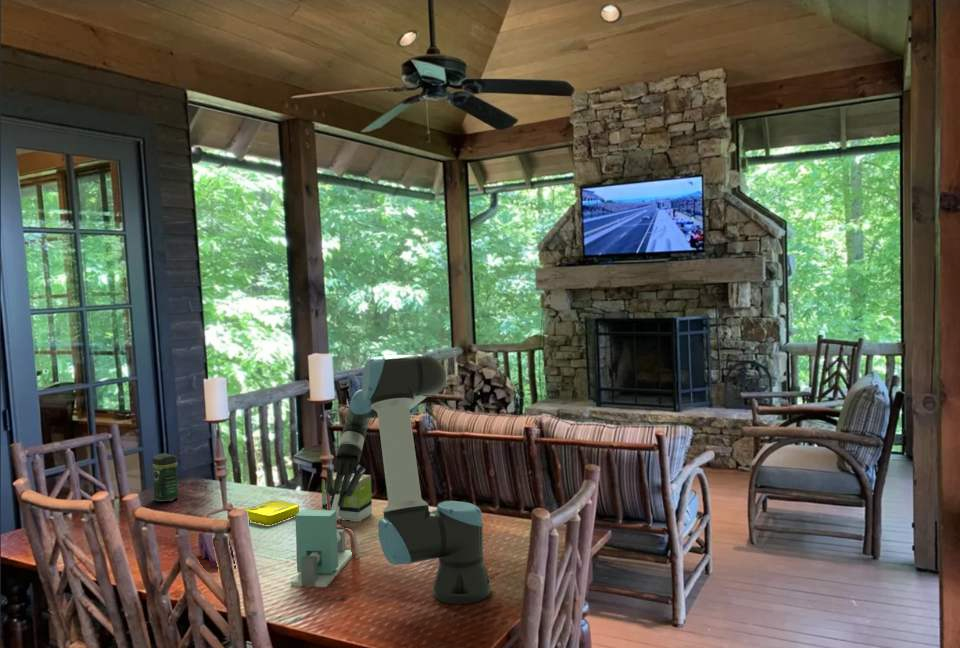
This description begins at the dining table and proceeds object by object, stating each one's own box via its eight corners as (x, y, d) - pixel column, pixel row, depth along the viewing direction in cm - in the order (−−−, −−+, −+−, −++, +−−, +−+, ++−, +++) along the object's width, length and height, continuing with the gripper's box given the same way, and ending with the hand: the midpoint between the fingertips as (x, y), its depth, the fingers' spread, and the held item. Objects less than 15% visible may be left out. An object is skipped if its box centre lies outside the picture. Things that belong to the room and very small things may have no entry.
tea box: (321, 519, 242) (320, 478, 242) (336, 511, 252) (335, 471, 251) (359, 522, 237) (358, 480, 237) (372, 514, 247) (371, 473, 246)
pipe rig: (324, 553, 209) (323, 528, 209) (355, 553, 208) (354, 528, 207) (290, 586, 185) (289, 558, 185) (325, 587, 184) (325, 559, 183)
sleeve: (304, 565, 194) (302, 509, 194) (338, 566, 193) (336, 510, 192) (297, 572, 189) (295, 515, 189) (331, 573, 188) (329, 516, 187)
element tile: (268, 528, 235) (268, 514, 235) (240, 521, 243) (239, 508, 243) (301, 516, 248) (301, 503, 248) (273, 510, 256) (273, 497, 256)
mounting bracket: (244, 580, 205) (228, 540, 218) (247, 559, 202) (231, 519, 215) (212, 588, 199) (197, 546, 212) (214, 566, 196) (199, 525, 209)
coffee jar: (181, 499, 272) (180, 453, 271) (161, 504, 266) (160, 457, 265) (170, 495, 278) (168, 450, 277) (151, 500, 272) (149, 454, 271)
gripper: (372, 455, 222) (357, 522, 206) (334, 455, 224) (316, 521, 208) (366, 442, 216) (351, 510, 200) (327, 442, 218) (309, 509, 202)
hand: (333, 516), depth 204 cm, fingers closed
